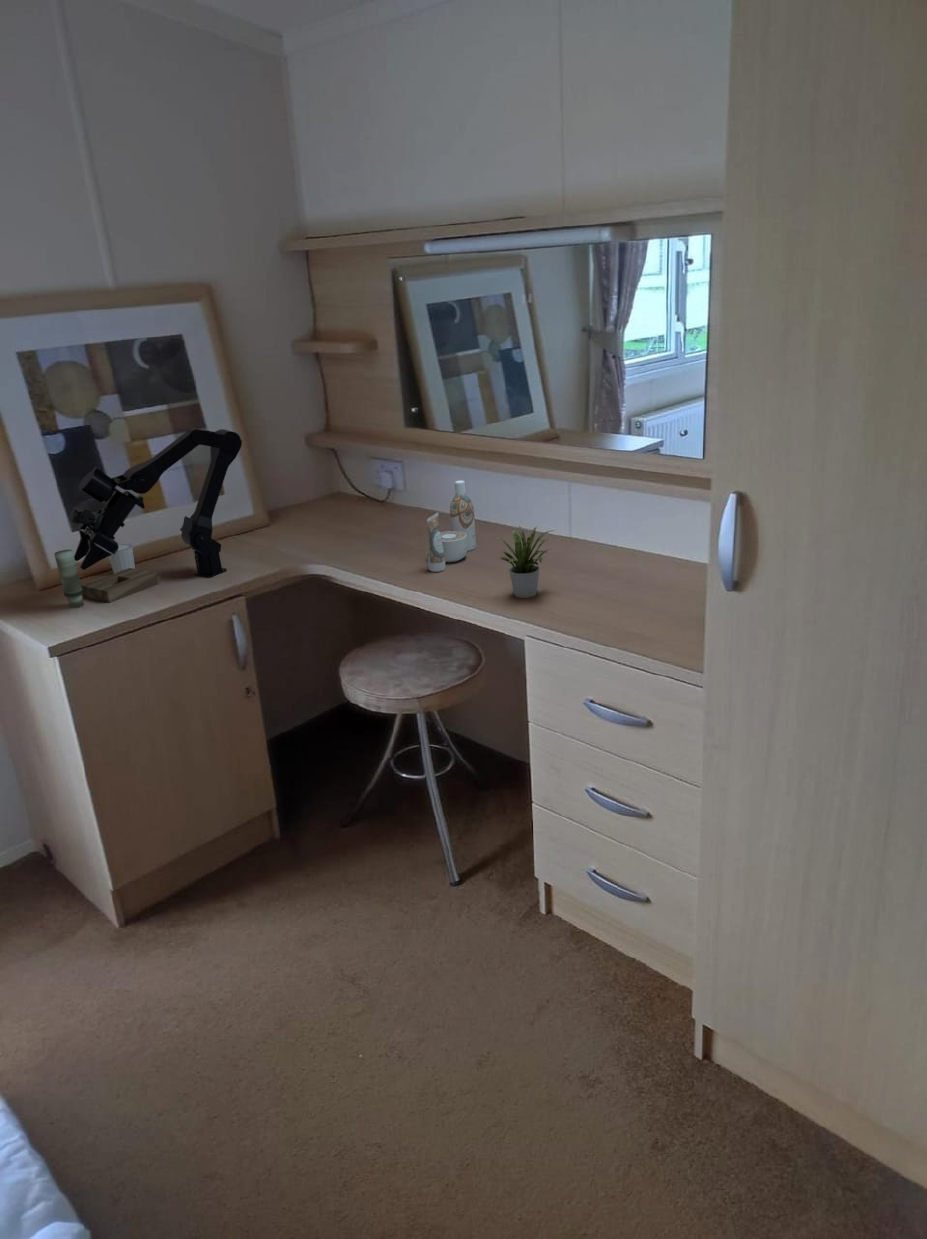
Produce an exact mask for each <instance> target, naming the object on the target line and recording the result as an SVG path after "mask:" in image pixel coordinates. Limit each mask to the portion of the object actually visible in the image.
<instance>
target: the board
mask: <svg viewBox="0 0 927 1239" xmlns="http://www.w3.org/2000/svg"><path fill="white" fill-rule="evenodd" d="M156 585H159V578H158V574H157V572H153V571H148V570H144V569H137V568H135V569H133V568H128V569H126V570H123V571H120V572H117V573H114V572H113V573H111V574H109V575H106V576H104V577H101V578H97V579H95V580H92V581H90V582H86V583H84V584H81V587H82V589H83V594H82V597H84V596H85V597H84V598H88V599H93V600H97V601H102V602H104V603H105V602H106V603H112V602H115V601H118V600H121V599H124V598H125V596H126V597H128V596H130V595H133V593H134V594H136V593H138V592H141V591H144V590H146V589H148V588H152V587H154V586H156ZM120 598H121V599H120Z"/></svg>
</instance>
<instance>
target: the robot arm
mask: <svg viewBox="0 0 927 1239" xmlns="http://www.w3.org/2000/svg"><path fill="white" fill-rule="evenodd" d="M242 445H243V440H242V439H241V436H240V435H239V434H238V433H237V432H235V431H232V430H227V429H224V428H223V429H221V428H220V429H217V430H216V431H211V430H204V429H200V428H199V429H198V428H195V427H190V428H188V429H187V430H186V431H185V432H184V433H183V434H182V435H180V436H179V437H178V438H176V439H174V440H173V441H172V442H171V443H170V444H168V445H167V446H166V447H165V448H163V449H162V450H160V451H159V452H158V453H157V454H155V455H154V456H153V457H151V458H149V459H148V460H146V461H143V462H140V463H138V464H136V465H133V466H132V467H130V468H128V469H126V470H125V471H124V472H123V474H121V475H117V476H114V477H110V476H108V475H107V474H105V473H104V472H103V471H102V470H101V469H100V468H98V467H96V466H95V467H93V469H92V470H91V471H89V472H87V474H86V475H84V476H83V478H82V479H81V480H80V483H79V485H78V487H77V488H78V490H79V491H80V492H82V493H84V495H86V496H88V497H90V498H91V499H93V500H95V501H96V502H98V503H103V502H106V504H104V506H103V508H101V507H100V508H98V509H97V511H92V510H91V509H87V508H81V507H76V506H72V509H71V512H70V515H69V520H70V521H71V522H72V523H75V524H78V526H77V527H78V530H77V532H78V534H79V537H80V539H79V542H78V546H77V547H76V550H75V553H74V558H75V562H78V561H80V560H81V559H83V560H82V563H81V564H80V566H79V568H80V569H81V570H83V571H84V570H86V569H88V568H90V567H91V566H94V565H95V564H97V563H98V562H101V561H102V560H104V559H106V558H109V557H108V556H111V555H112V554H115V553H116V551H117V550H118V549H119V547H118V545H119V543H118V542H117V541H116V540H115V539H116V537H115V535H116V533H117V532H118V531H119V529H120V528H124V526H125V525H126V524H125V523H124V522H125V521H126V520H127V518H128V516H129V515H130V513H131V512H132V511H133V510H134V508H135V507H136V506H137V507H139V508H141V509H142V510H143V509H145V507H146V506H145V503H144V497H143V496H141V495H138V496H136V495H135V494H133V493H136V494H142V495H143V494H146V493H148V492H150V491H151V489H153V487H155V485H156V484H157V482H158V481H159V480H160V478H161V476H162V475H163V474H164V473H165V472H166V471H167V470H169V469H170V468H171V467H172V466H174V465H175V464H177V463H178V462H179V461H180V460H181V459H183V458H184V457H185V456H187V455H188V454H189V453H190V452H192V451H193V450H194V449H195V448H197V447H198V446H205V447H206V446H207V447H210V449H209V452H210V463H209V467H208V470H207V472H206V476H205V479H204V481H203V485H202V488H201V491H200V495H199V498H198V501H197V504H196V505H195V506H196V507H195V509H194V512H193V513H192V515H191V516H190V517H189V516H186V515H185V516H184V518H183V522H182V523H183V524H182V526H181V527H180V529H179V531H181V539H182V541H183V543H185V544H186V545H188V546H189V547H190V548H191V549H192V550H193V554H194V560H195V566H196V570H197V571H194V572H193V575H195V576H199V577H204V578H212V577H214V576H217V575H219V574H222V573H224V572H226V571H227V567H222V562H221V556H220V552H221V549H222V544H221V543H220V542H218V541H217V540H215V539H213V538H212V536H213V515H214V512H215V510H216V506H217V503H218V500H219V496H220V494H221V490H222V487H223V484H224V481H225V478H226V475H227V471H228V469H229V466H230V465H232V463H233V462H234V461H235V459H236V458H237V456H238V454H239V452H240V450H241V448H242V447H243V446H242ZM116 487H118V488H120V489H123V492H122V491H121V490H119V489H117V488H116ZM131 491H132V492H133V493H132V492H131ZM110 552H111V553H112V554H111V553H110Z"/></svg>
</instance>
